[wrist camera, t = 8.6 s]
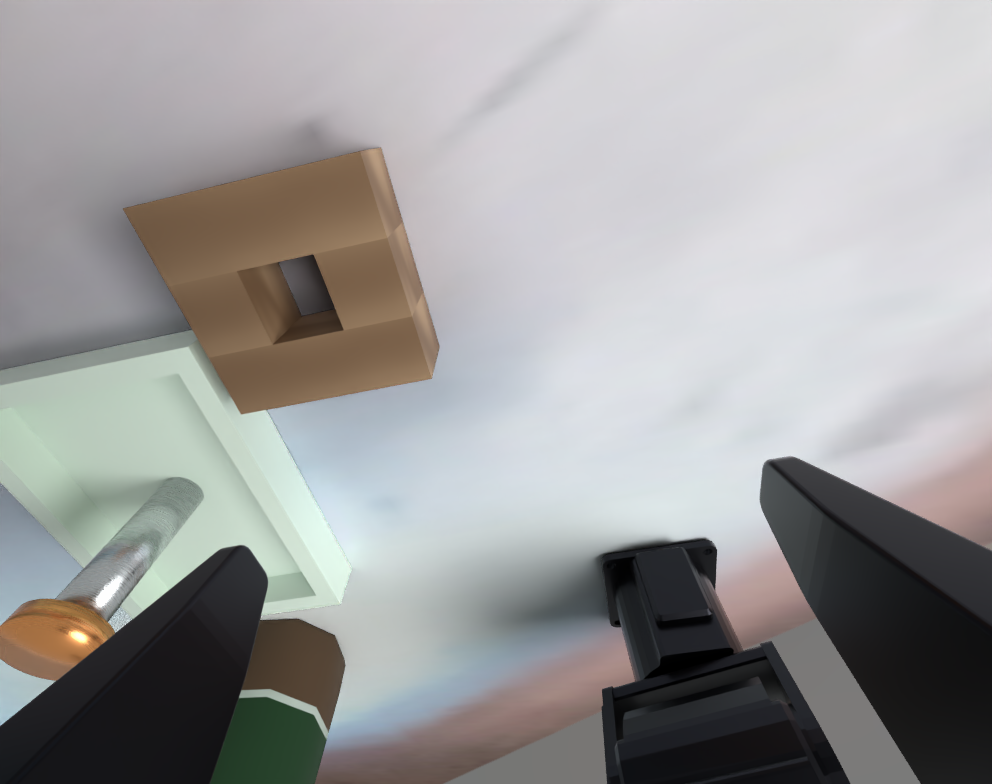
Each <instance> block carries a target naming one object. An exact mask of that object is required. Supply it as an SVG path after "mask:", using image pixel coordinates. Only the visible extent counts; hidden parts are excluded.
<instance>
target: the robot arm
mask: <svg viewBox="0 0 992 784" xmlns="http://www.w3.org/2000/svg"><path fill="white" fill-rule="evenodd" d="M760 504H761V508H762V511H763V513H764V515H765V517H766V519H767V521H768V523H769V526H770V528H771V530H772V532H773V534H774V536H775V538H776V540H777V542H778V544H779V546H780V548H781V550H782V552H783V554H784V556H785V558H786V560H787V562H788V564H789V566H790V568H791V571H792V573H793V575H794V577H795V579H796V581H797V583H798V585H799V587H800V589H801V591H802V593H803V594H804V596H805V598H806V600H807V602H808V604H809V605H810V607H811V609H812V610H813V612H814V614H815V615H816V617H817V619H818V620H819V622H820V623H821V625H822V627H823V628H824V630H825V631H826V633H827V635H828V636H829V638H830V639H831V641H832V643H833V644H834V646H835V647H836V649H837V651H838V652H839V654H840V655H841V657H842V659H843V660H844V662H845V663H846V665H847V666H848V668H849V669H850V671H851V673H852V674H853V676H854V678H855V679H856V681H857V682H858V684H859V686H860V687H861V689H862V690H863V692H864V694H865V695H866V697H867V698H868V700H869V702H870V703H871V705H872V706H873V708H874V709H875V711H876V713H877V714H878V716H879V718H880V719H881V721H882V722H883V724H884V725H885V727H886V729H887V730H888V732H889V734H890V735H891V737H892V738H893V740H894V741H895V743H896V745H897V746H898V748H899V750H900V751H901V753H902V754H903V756H904V757H905V759H906V761H907V762H908V764H909V765H910V767H911V769H912V770H913V772H914V773H915V775H916V776H917V778H918V780H919V781H920V783H921V784H992V550H990V549H988V548H986V547H984V546H982V545H980V544H978V543H975V542H973V541H971V540H969V539H967V538H965V537H963V536H961V535H959V534H956V533H954V532H952V531H950V530H948V529H946V528H944V527H942V526H940V525H937V524H935V523H933V522H931V521H929V520H927V519H925V518H923V517H921V516H918V515H916V514H914V513H912V512H910V511H908V510H906V509H904V508H902V507H899V506H897V505H895V504H893V503H891V502H889V501H887V500H885V499H883V498H881V497H878V496H876V495H874V494H872V493H870V492H868V491H866V490H864V489H862V488H859V487H857V486H855V485H853V484H851V483H849V482H847V481H845V480H843V479H840V478H838V477H836V476H834V475H832V474H830V473H828V472H826V471H824V470H821V469H819V468H817V467H815V466H813V465H811V464H809V463H807V462H805V461H802V460H800V459H798V458H796V457H782V458H776V459H770V460H767V461H766V462H765V463H764V465H763V469H762V479H761V489H760ZM716 561H717V549H716V547H715V545H714V543H713V542H712V541H709V540H704V541H697V542H690V543H683V544H677V545H670V546H663V547H656V548H649V549H642V550H635V551H628V552H621V553H614V554H608V555H605V556H604V557H603V558H602V560H601V562H602V570H603V577H604V584H605V592H606V599H607V606H608V613H609V619H610V624H611V625H612V626H613V627H622V631H623V635H624V639H625V643H626V647H627V651H628V655H629V659H630V662H631V666H632V670H633V674H634V678H635V682H633V683H629V684H626V685H622V686H619V687H615V688H613V687H612V686H611V687H608V688H604V689H602V696H603V706H602V719H603V733H604V746H605V761H606V774H607V784H850V782H849V780H848V778H847V776H846V774H845V772H844V770H843V768H842V766H841V765H840V762H839V761H838V759H837V757H836V755H835V753H834V751H833V749H832V747H831V745H830V744H829V742H828V740H827V738H826V736H825V734H824V732H823V731H822V729H821V727H820V725H819V723H818V722H817V720H816V718H815V716H814V715H813V713H812V711H811V710H810V708H809V706H808V704H807V702H806V701H805V699H804V697H803V695H802V694H801V692H800V690H799V688H798V687H797V685H796V683H795V681H794V680H793V678H792V676H791V674H790V673H789V671H788V669H787V668H786V666H785V664H784V662H783V661H782V659H781V657H780V656H779V654H778V652H777V650H776V648H775V647H774V645H773V643H772V641H768V642H765V643H761V644H760V645H761V646H759V647H755V648H752V649H748V650H745V651H743V648H742V646H741V644H740V642H739V640H738V638H737V636H736V634H735V632H734V630H733V628H732V625H731V623H730V621H729V619H728V617H727V615H726V613H725V611H724V609H723V607H722V605H721V603H720V600H719V598H718V596H717V594H716V592H715V583H716ZM267 589H268V577H267V574H266V572H265V570H264V569H263V567H262V566H261V564H260V563H259V562H258V560H257V559H256V557H255V556H254V554H253V553H252V551H251V550H250V549H249V548H248V547H247V546H245V545H237V546H231V547H225V548H222V549H220V550H218V551H217V552H215V553H214V554H213V555H212V556H210V557H209V558H208V559H207V560H205V561H204V562H203V563H202V564H201V565H199V566H198V567H197V568H196V569H194V570H193V571H192V572H191V573H189V574H188V575H187V576H186V577H184V578H183V579H182V580H181V581H179V582H178V583H177V584H176V585H175V586H173V587H172V588H171V589H170V590H168V591H167V592H166V593H165V594H163V595H162V596H161V597H160V598H158V599H157V600H156V601H155V602H153V603H152V604H151V605H150V606H149V607H147V608H146V609H145V610H144V611H142V612H141V613H140V614H139V615H137V616H136V617H135V618H134V619H132V620H131V621H130V622H129V623H127V624H126V625H125V626H124V627H122V628H121V629H120V630H119V631H118V632H116V633H115V634H114V635H113V636H111V637H110V638H109V639H108V640H106V641H105V642H104V643H103V644H101V645H100V646H99V647H98V648H96V649H95V650H94V651H93V652H92V653H90V654H89V655H88V656H87V657H85V658H84V659H83V660H82V661H80V662H79V663H78V664H77V665H75V666H74V667H73V668H72V669H70V670H69V671H68V672H67V673H65V674H64V675H63V676H62V677H61V678H59V679H58V680H57V681H56V682H54V683H53V684H52V685H51V686H49V687H48V688H47V689H46V690H44V691H43V692H42V693H41V694H39V695H38V696H37V697H36V698H35V699H33V700H32V701H31V702H30V703H28V704H27V705H26V706H25V707H23V708H22V709H21V710H20V711H18V712H17V713H16V714H15V715H13V716H12V717H11V718H10V719H9V720H7V721H6V722H5V723H4V724H2V725H1V726H0V784H210V782H211V779H212V776H213V773H214V770H215V768H216V765H217V762H218V759H219V756H220V753H221V750H222V747H223V744H224V741H225V738H226V735H227V732H228V729H229V726H230V723H231V720H232V717H233V714H234V711H235V708H236V705H237V702H238V699H239V696H240V694H241V691H242V687H243V684H244V681H245V678H246V675H247V671H248V667H249V663H250V660H251V656H252V651H253V647H254V643H255V639H256V635H257V631H258V626H259V622H260V618H261V614H262V610H263V606H264V601H265V597H266V593H267Z"/></svg>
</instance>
